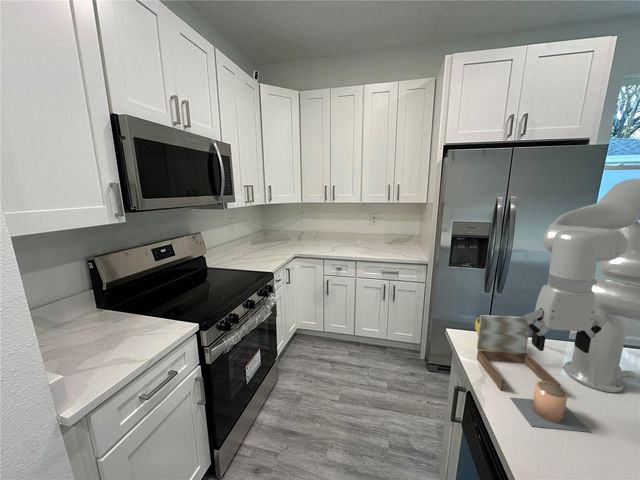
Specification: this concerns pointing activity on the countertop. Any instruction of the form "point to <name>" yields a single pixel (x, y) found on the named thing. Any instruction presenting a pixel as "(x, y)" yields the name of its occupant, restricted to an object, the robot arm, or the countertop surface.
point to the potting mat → (536, 421)
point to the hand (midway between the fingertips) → (559, 348)
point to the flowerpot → (549, 401)
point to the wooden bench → (506, 346)
